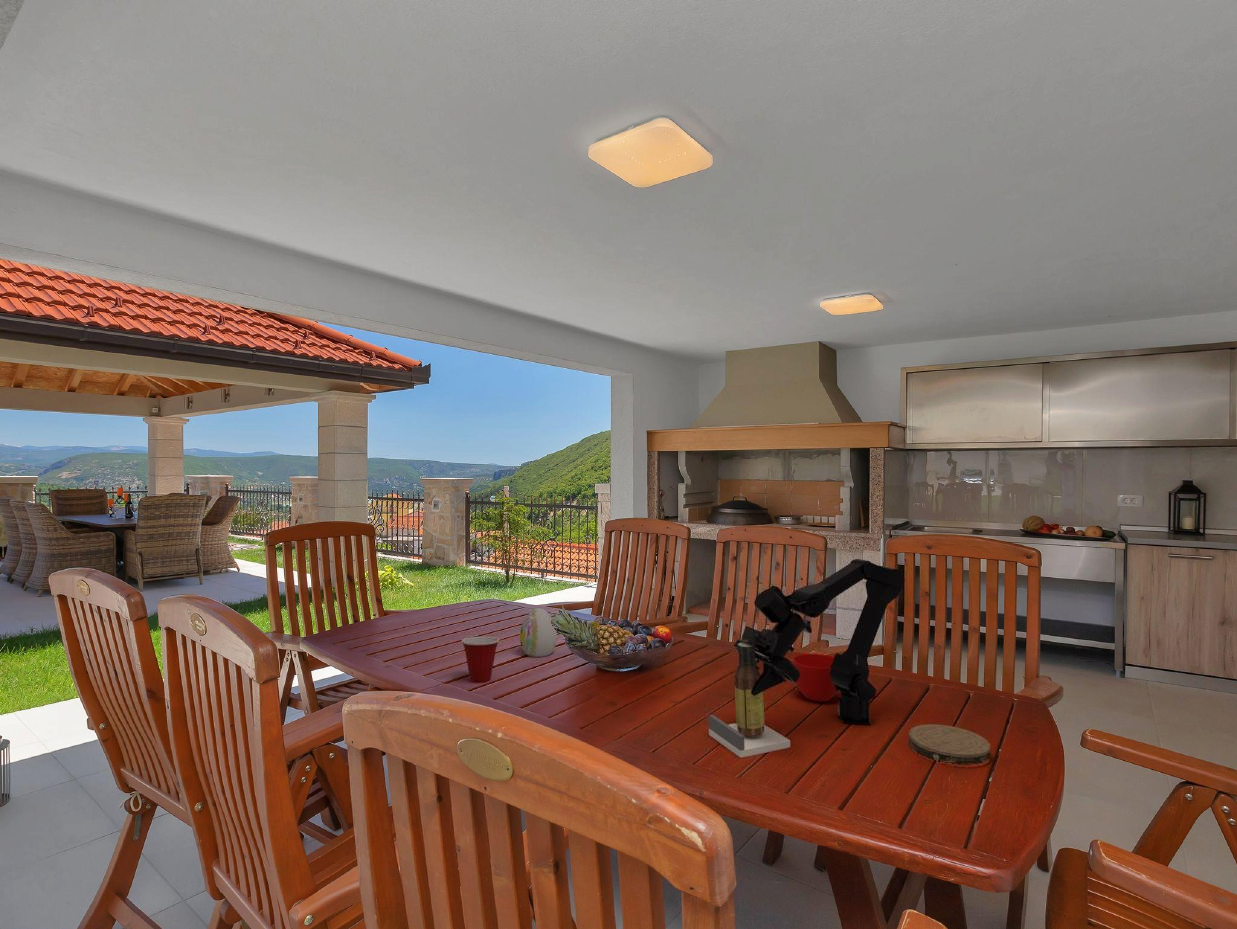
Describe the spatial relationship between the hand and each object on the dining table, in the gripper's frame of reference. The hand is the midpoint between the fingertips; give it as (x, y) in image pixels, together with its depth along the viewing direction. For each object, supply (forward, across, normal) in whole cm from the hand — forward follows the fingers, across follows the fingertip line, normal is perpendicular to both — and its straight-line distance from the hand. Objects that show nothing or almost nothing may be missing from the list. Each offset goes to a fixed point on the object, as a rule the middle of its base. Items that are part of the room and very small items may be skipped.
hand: (743, 689), depth 147 cm
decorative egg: (+25, -85, -8) cm, 89 cm away
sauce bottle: (+6, 0, +8) cm, 10 cm away
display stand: (+8, 0, +9) cm, 12 cm away
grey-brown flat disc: (-18, +22, +36) cm, 46 cm away
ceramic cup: (-16, -14, +34) cm, 40 cm away
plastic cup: (+41, -67, -25) cm, 82 cm away
